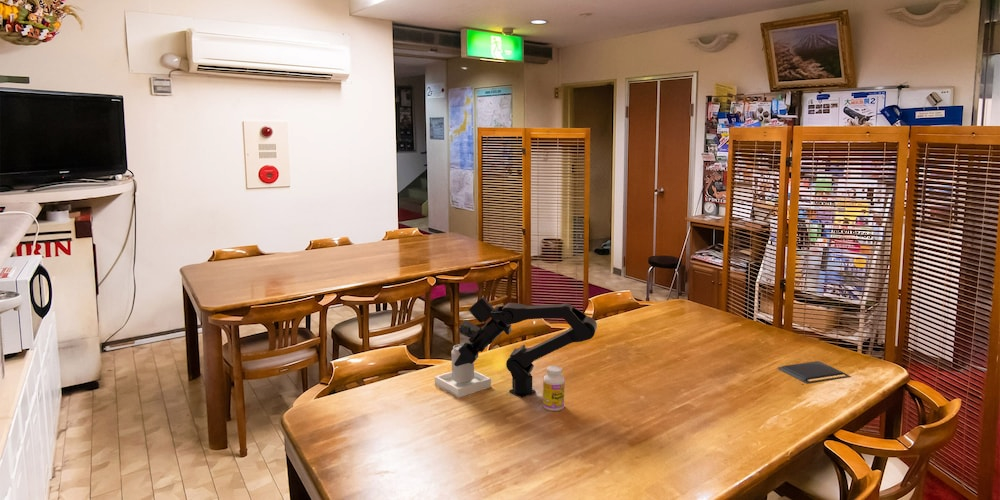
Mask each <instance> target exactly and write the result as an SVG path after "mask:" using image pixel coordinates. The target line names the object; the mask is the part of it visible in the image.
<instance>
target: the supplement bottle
mask: <svg viewBox="0 0 1000 500" xmlns="http://www.w3.org/2000/svg"><path fill="white" fill-rule="evenodd" d="M562 373H563V368H562V367H561V366H557V365H549V366H547V367H546V374H545V375H544V376H543V384H542V386H543V387H542V406H543V408H544V409H545V410H547V411H549V412H550V411H551V412H558V411H561V410H563V409H564V407H565V389H566V388H565V384H566V383H565V382H566V381H565V380H566V379H565V377H564V375H563V374H562Z"/></svg>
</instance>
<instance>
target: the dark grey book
mask: <svg viewBox="0 0 1000 500" xmlns="http://www.w3.org/2000/svg"><path fill="white" fill-rule="evenodd" d="M777 370H779V371H780V372H783V373H785V374H787V375H789V376H791V377H793V378H794V379H796V380H798V381H800V382H803V383H804V384H807V385H808V384H814V383H820V382H827V381H833V380H839V379H841V380H842V379H847V378H848V379H849V378H852V376H851V375H849V374H847V373H845V372H843V371H841V370H840V369H837V368H835V367H833V366H831V365H828V364H827V363H824V362H821V361H820V360H817V361H810V362H803V363H802V362H801V363H796V364H788V365H782V366H780V367H777Z"/></svg>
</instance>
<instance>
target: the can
mask: <svg viewBox="0 0 1000 500" xmlns="http://www.w3.org/2000/svg"><path fill="white" fill-rule="evenodd" d="M464 344H465V343H459V344H454V345H453V346H452V350H451V352H450V354H451V371H452V379H453V380H454V381H455V382H457V383H462V384H463V383H469V382H471V381H472V380H473V379H474V370H475V361H474V362H473V363H472V364H470V363H467V364H463V365H460V366H455V365H454V363H455V362H456V360H457V359H458V357H459V356H460V352H459V351H458V350H459V349H460V348H461V347H462V346H463V345H464Z"/></svg>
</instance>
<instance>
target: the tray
mask: <svg viewBox="0 0 1000 500" xmlns="http://www.w3.org/2000/svg"><path fill="white" fill-rule="evenodd" d="M434 386H436V387H438V388H439V389H442V390H443V391H445V392H447V393H449V394H450V395H452V396H454V397H456V398H458V399H459V398H462V397H465V396H469V395H471V394H474V393H478V392H480V391H483V390H485V389H489V388H492V379H491V377H488V376H487V375H485V374H482V373H480V372H478V371H476V370H475V369H474V379H473V380H472V381H471V382H469V383H463V384H462V383H457V382H455V381H454V380H453V379H452V370H451V371H447V372H445V373H440V374H439V375H435V376H434Z"/></svg>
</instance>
